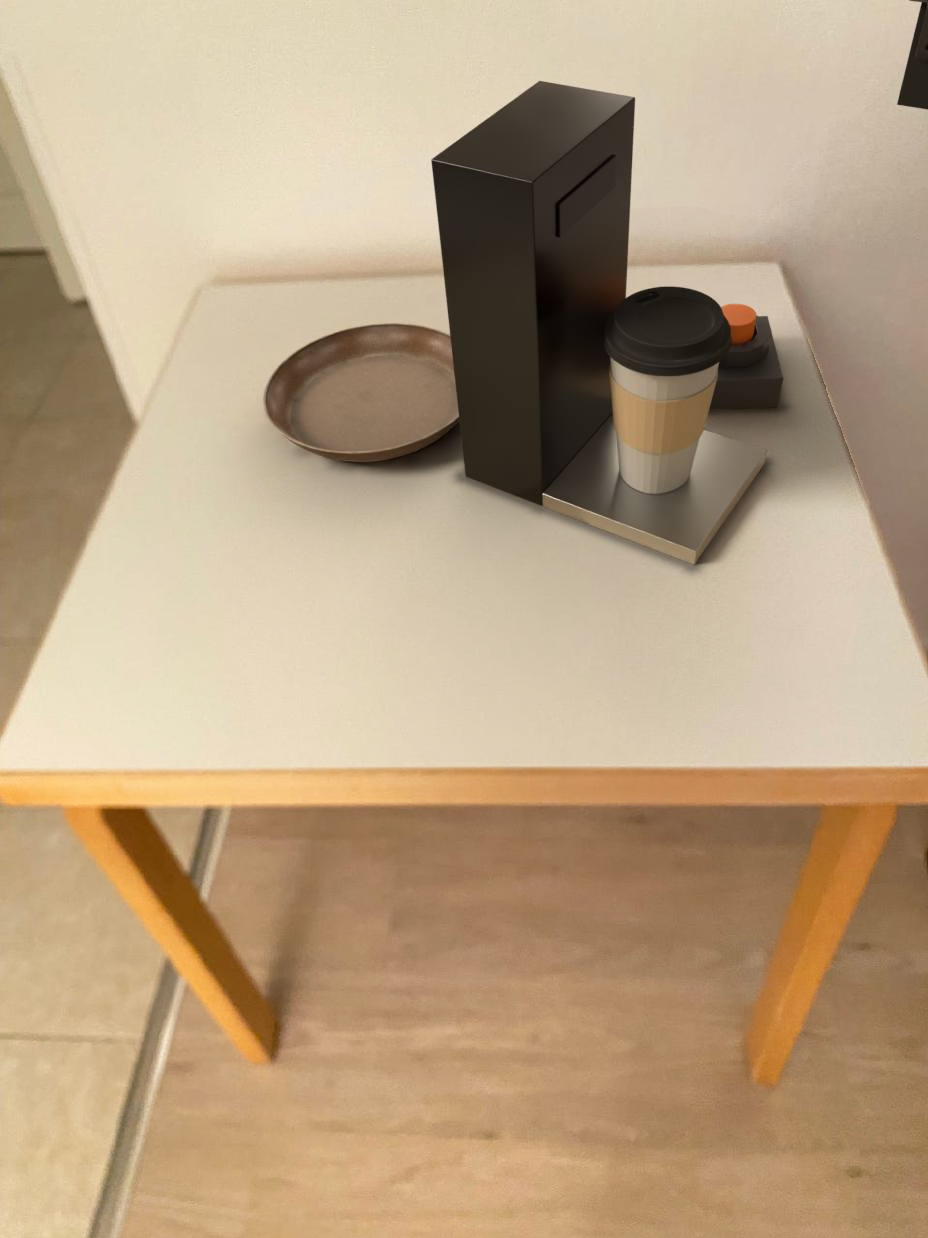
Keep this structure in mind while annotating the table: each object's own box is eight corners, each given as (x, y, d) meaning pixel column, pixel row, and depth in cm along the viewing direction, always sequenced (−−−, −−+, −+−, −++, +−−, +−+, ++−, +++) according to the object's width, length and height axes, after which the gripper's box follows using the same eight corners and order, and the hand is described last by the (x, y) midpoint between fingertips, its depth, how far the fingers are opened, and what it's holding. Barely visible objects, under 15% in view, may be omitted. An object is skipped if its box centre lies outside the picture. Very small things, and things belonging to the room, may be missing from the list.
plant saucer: (288, 352, 101) (281, 324, 99) (486, 342, 99) (483, 313, 97) (253, 485, 88) (244, 457, 85) (481, 476, 86) (478, 447, 84)
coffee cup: (633, 423, 87) (642, 268, 75) (731, 458, 83) (757, 299, 71) (578, 485, 82) (579, 329, 71) (679, 524, 78) (698, 366, 67)
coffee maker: (764, 463, 84) (830, 129, 63) (694, 565, 77) (740, 228, 56) (546, 391, 93) (539, 79, 72) (465, 476, 86) (430, 158, 65)
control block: (777, 407, 89) (787, 360, 85) (688, 410, 90) (694, 364, 86) (762, 344, 95) (770, 298, 91) (679, 347, 96) (684, 302, 92)
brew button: (755, 344, 88) (759, 324, 86) (715, 346, 88) (717, 326, 86) (750, 322, 90) (753, 302, 88) (711, 323, 90) (713, 303, 89)
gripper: (1002, -391, 55) (896, 61, 73) (929, -356, 48) (833, 132, 66) (1151, -398, 52) (1002, 76, 70) (1094, -362, 45) (946, 151, 63)
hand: (920, 103), depth 68 cm, fingers closed
